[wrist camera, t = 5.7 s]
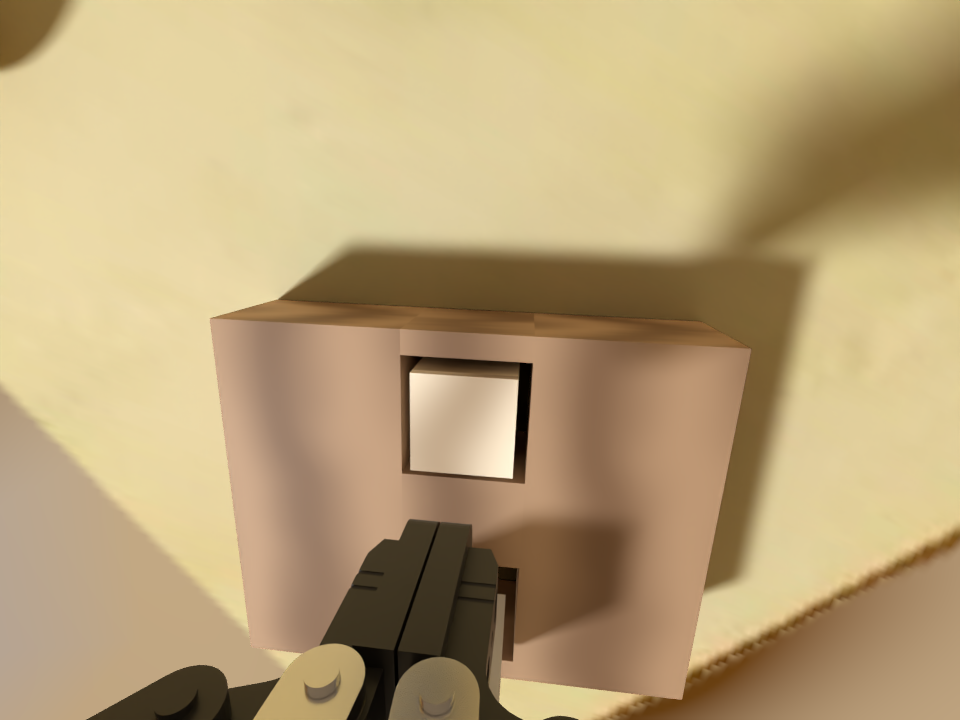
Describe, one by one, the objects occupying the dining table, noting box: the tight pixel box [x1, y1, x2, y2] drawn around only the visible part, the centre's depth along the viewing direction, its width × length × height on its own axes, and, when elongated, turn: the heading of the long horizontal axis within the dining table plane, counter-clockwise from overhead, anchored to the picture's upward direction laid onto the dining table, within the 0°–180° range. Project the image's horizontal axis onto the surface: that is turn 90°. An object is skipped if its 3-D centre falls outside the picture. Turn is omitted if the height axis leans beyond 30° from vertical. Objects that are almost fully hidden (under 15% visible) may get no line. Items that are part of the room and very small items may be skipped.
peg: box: [410, 356, 520, 479], centre depth 20 cm, size 4×4×5 cm
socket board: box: [210, 300, 752, 700], centre depth 22 cm, size 20×16×5 cm
